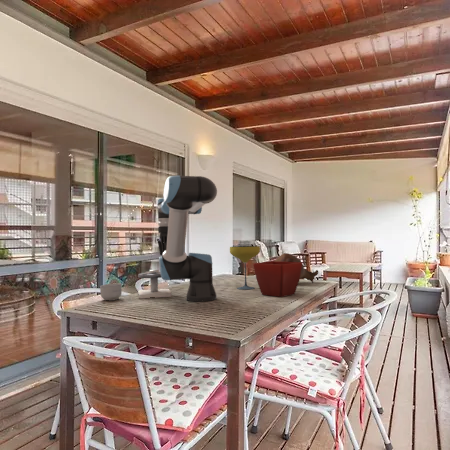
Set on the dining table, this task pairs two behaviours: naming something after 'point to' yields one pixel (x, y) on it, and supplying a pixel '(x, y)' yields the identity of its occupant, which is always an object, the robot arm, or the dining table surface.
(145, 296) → the wheel stand
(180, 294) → the dining table surface
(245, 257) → the cocktail glass
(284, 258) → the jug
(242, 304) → the dining table surface
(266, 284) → the plant pot
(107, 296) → the teacup
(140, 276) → the handwheel
